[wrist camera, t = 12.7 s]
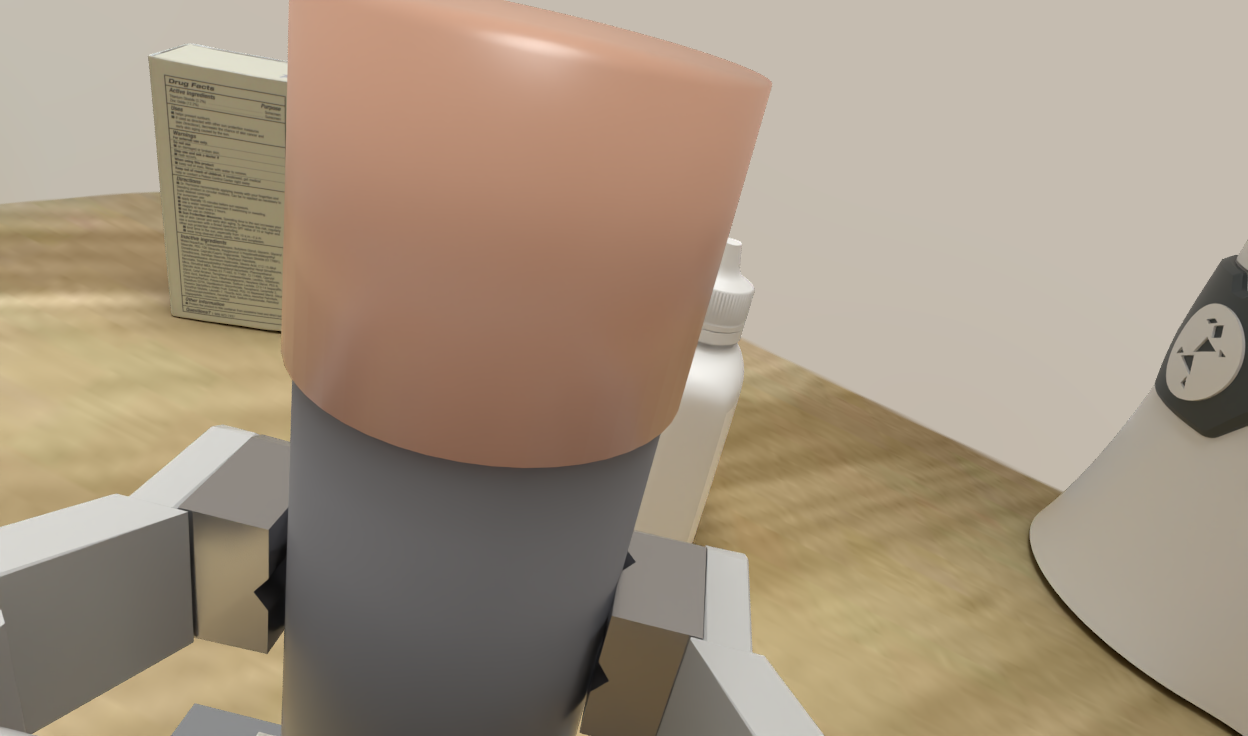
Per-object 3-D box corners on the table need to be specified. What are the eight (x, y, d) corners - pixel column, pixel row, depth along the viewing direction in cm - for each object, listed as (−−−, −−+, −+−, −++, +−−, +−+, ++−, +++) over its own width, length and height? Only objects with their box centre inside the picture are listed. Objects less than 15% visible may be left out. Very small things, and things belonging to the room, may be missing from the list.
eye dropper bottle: (729, 517, 33) (820, 249, 28) (663, 584, 29) (755, 281, 23) (643, 469, 35) (713, 209, 30) (568, 525, 31) (634, 232, 25)
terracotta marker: (556, 798, 13) (762, 62, 8) (499, 1074, 10) (789, 118, 5) (339, 743, 13) (401, -27, 8) (209, 999, 10) (169, -36, 5)
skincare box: (323, 302, 43) (332, 68, 37) (298, 338, 39) (304, 82, 33) (199, 282, 42) (190, 39, 36) (161, 317, 38) (144, 50, 32)
